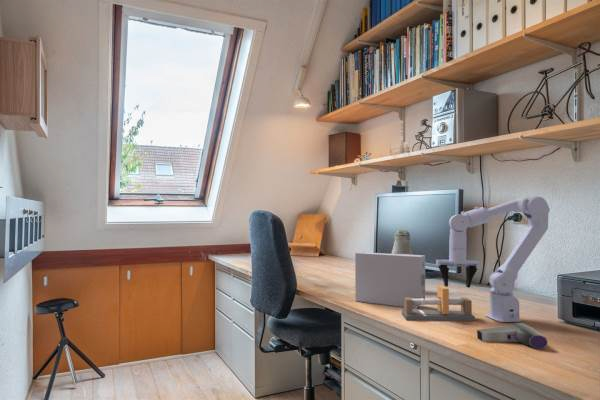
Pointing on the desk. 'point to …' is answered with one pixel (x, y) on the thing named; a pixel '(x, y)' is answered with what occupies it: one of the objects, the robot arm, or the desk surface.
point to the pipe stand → (437, 315)
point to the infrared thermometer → (513, 335)
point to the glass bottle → (402, 243)
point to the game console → (389, 278)
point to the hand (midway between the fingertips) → (457, 286)
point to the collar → (443, 299)
